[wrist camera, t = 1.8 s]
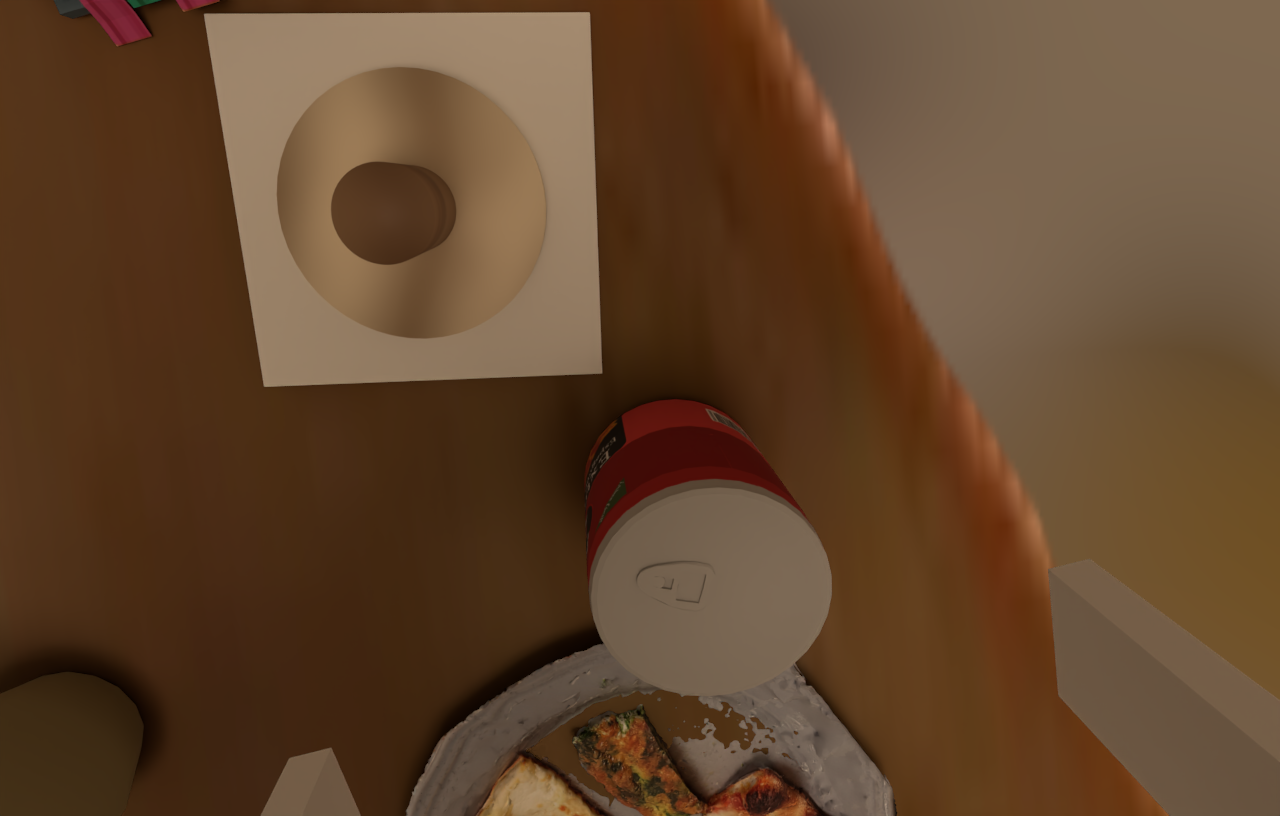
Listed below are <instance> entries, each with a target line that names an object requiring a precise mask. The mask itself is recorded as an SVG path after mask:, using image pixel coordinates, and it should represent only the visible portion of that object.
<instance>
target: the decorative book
mask: <svg viewBox="0 0 1280 816" xmlns="http://www.w3.org/2000/svg"><path fill="white" fill-rule="evenodd" d="M157 1H160V0H54V2H55V4H56V6H57V8H58V11H59V13H60V15H63V16H66V17H69V18H72V19H74V18H77V17H80V16H84V15H87V14H90V13H91V14H92V15H93V16H94V18H95V19H96V20H97V21H98V22H99V23H100V24H101V25H102V27H103V28H104V29H105V31H106V32H107V33H108V35H109V36H110V38H111V39H112V40H113V42H114V43H115V44H116V46H121V45H124V44H128V43H131V42H134V41H138V40H141V39H145V38H148V37H151V36H152V35H151V34H150V33H149V31H148V30H147V28H146V27H145V25H144V24H143V23H142V21H141V20H140V18H139V17H138V15H137V14H136V13H135V11H134V10H133V9H132V8H131V7H130V6H129V4H128V3H127V2H129V3H130V4H131V5H132V6H133V7H134V8H136V7H140V6H143V5H147V4H150V3H153V2H157ZM176 1H177V3H178V4H179V6H180V7H181V9H182V10H183V12H185V11H188V10H192V9H195V8H199V7H202V6H205V5H209V4H212V3H216V2H219V1H220V0H176Z"/></svg>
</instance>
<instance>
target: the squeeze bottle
mask: <svg viewBox="0 0 1280 816" xmlns="http://www.w3.org/2000/svg"><path fill="white" fill-rule="evenodd" d="M143 730H144V724H143V722H142V719H141V717H140V714H139V712H138V709H137V707H136V705H135V704H134V703H133V702H132V701H131V700H130V699H129V698H128V696H127V695H126V694H125V693H124V692H123V691H122V690H121V689H120V688H119V687H117V686H115V685H113V684H111V683H109V682H107V681H105V680H103V679H100V678H98V677H96V676H94V675H87V674H81V673H74V672H62V673H56V674H50V675H45V676H41V677H38V678H36V679H34V680H31V681H29V682H27V683H24V684H22V685H20V686H17V687H15V688H13V689H10V690H8V691H5V692H3V693H1V694H0V816H121V815H122V813H123V812H124V810H125V809H126V806H127V802H128V798H129V794H130V790H131V786H132V782H133V778H134V775H135V771H136V767H137V763H138V759H139V755H140V751H141V747H142V740H143Z"/></svg>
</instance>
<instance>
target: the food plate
mask: <svg viewBox="0 0 1280 816" xmlns="http://www.w3.org/2000/svg"><path fill="white" fill-rule="evenodd" d="M587 648H588V647H587ZM551 663H552V664H551ZM550 664H551V665H550ZM794 666H795V667H796V668H797V670H798V671H799V672H800V670H799V669H798V667H797V665H796V664H795V663H794V664H793V665H792V666H791V667H789V668H788V669H786V670H785V671H784V672H782V673H781V674H779V675H778V676H776V677H775V678H773V679H771V680H769V681H767V682H764V683H762V684H760V685H758V686H756V687H754V688H750V689H747V690H743V691H740V692H736V693H732V694H725V695H716V696H700V697H699V701H701V702H702V703H703V704H706V703H707V704H708V706H709V707H710V708H714V709H716V710H719V711H721V710H722V709H723V706H722V704H721V703H720V702H727V703H729V705H730V706H732V707H733V710H734V711H735V712H737V713H739V714H742V715H744V716H745V720H746V723H751V724H752V726H753V729H752V730H753V731H754V732H755V734H756V736H755V737H754V739H753V741H752V742H751V744H752V745H751V746H750V748H748V749H747V750H742V749H741V748H740V743H739V741H733V742H731V743H730V746H729V748H727V749H724V745H723V743H721V742H719V741H718V740H716V739H715V738H714V737H713V735H712V734H713V733H714V731H715V730H716V728H715V727H714V725H713V723H710V722H709V719H707V718H706V719H704V723H706V726H705V728H703V729H702V731H701V732H702V733H703V734H705V735H706V738H705V739H704V740H698V739H694V740H692V739H691V738H688V740H689V741H688V742H684V741H683V740H681V738H680V737H673V743H672V745H671V746H670V748H669V749H667V744H666V743H665V742H664V741H663V740H662V737H660V736H659V735H658V734H657V732H656V730H655V728H654V727H653V725H652V724H651V723H650V721H649V720H648V717H647V716H646V715H645V710H644V707H643V706H642V704H640V705H638V706H637V709H636V710H632V711H631V710H628V711H627V712H624V713H621V714H616V713H613V712H612V711H607V712H605V713H604V714H602V715H598V716H597V717H595V718H592V719H590V720H589V722H588V723H589V725H588V727H585V726H584V727H583V728H581V729H580V730H578V732H577V736H576V737H574V738H573V739H572V742H573V744H574V745H575V747H576V749H577V751H578V754H579V761H580V762H581V766H582V767H583V768H585V770H586V771H587V774H588V775H593V776H594V777H595V779H596V781H597V782H600V783H602V784H604V785H605V786H604V788H606V790H607V792H609V793H611V794H612V796H614V797H615V798H614V801H613V802H612V804H611V806H610V807H609V806H608V805H609V799H608V797H603V796H599V794H598V793H596V792H595V791H593V790H591V789H588V788H587V787H586V786H584V784H583V783H578V782H579V781H578V780H577V779H576V777H575V776H574V775H573V774H569V775H565V772H564V771H563V770H561V769H560V768H558V767H556V766H555V765H553V764H551V763H550V762H548V761H547V760H548V758H547V757H544V758H543V759H542V760H541V761H540V760H539V759H536V758H535V757H534V755H533V754H531V753H526V750H527V749H528V748H531V747H532V746H534V745H535V744H537V743H538V742H539V740H540V739H542V738H544V737H545V736H547V735H548V734H550V733H551V732H552V731H554V730H556V729H557V728H558V727H559V726H560V725H563V724H565V723H566V722H567V721H568V720H569V719H571V718H573V717H574V716H576V715H578V714H580V713H582V712H583V710H584V709H585V708H587V707H589V706H590V705H592V704H594V703H597V702H601V701H606V700H608V699H610V698H613V697H615V696H619V695H620V694H621V695H622V697H624V696H629V695H630V694H632V693H633V692H636V691H640V692H641V693H643V694H644V695H645V694H647V693H649V694H652V693H653V692H655V691H656V690H660V688H658V687H656V686H653V685H651V684H649V683H646V682H644V681H642V680H641V679H639V678H638V677H636V676H635V675H633V674H632V673H630V672H629V671H627V670H626V669H625V668H624V667H623V666H622V665H621V664H620V663H619V662H618V661H617V660H616V659H615V658H614V657H613V656H612V655H611V653H610V652H609V650H608V649H607V647H606V646H605V644H604V643H603V645H601V644H599V645H595V646H593V647H592V648H590V649H588V650H585V651H581V652H575V653H574V654H572V655H570V656H568V657H565V658H563V659H562V660H561V659H558V660H557V661H555V662H550V663H548V664H547V665H545V666H544V667H542V668H539V669H537V671H536V670H535V672H533V673H531V675H528V676H527V677H525V678H524V679H522V680H521V681H518V682H517V683H515V684H514V685H511V686H509V687H507V691H506V692H504V691H503V692H502V694H500V695H497V696H496V697H495V698H493V699H492V700H491V699H490V702H488V701H489V700H488V701H487V702H486V704H485V705H482V706H481V707H480V708H479V710H476V711H474V712H473V713H472V714H470V715H469V716H467V718H466V720H464V723H463V721H462V722H460V723H459V724H457V726H456V727H455V728H454V729H453V728H452V729H451V730H450V731H449V732H448V733H446V735H444V736H443V737H442V738H441V739H440V741H439V742H438V744H437V745H436V747H435V748H434V751H433V754H432V755H431V758H430V759H429V760H428V764H427V765H426V766H425V767H426V768H425V773H424V774H422V776H421V777H420V778H419V779H418V784H417V786H414V787H415V788H414V792H411V793H412V797H411V802H409V803H410V806H408V808H407V810H406V813H407V814H406V816H897V812H896V807H895V806H896V804H895V803H894V802H895V800H894V795H893V792H892V787H891V786H890V783H889V781H888V780H887V779H886V780H887V781H886V780H885V778H886V776H885V778H884V777H883V775H882V774H881V772H880V771H879V769H878V768H877V767H876V765H875V764H874V762H872V761H871V760H870V758H869V757H868V756H867V755H866V753H865V752H864V751H863V750H862V748H861V747H860V745H859V744H858V743H857V741H856V740H855V739H854V738H853V737H852V736H851V734H850V733H849V731H848V730H847V728H846V727H845V726H844V725H843V724H842V723H841V722H840V720H839V719H838V718H837V717H836V716H835V715H834V714H833V712H832V711H831V709H830V708H829V706H828V705H827V704H826V702H825V701H824V700H823V698H822V697H821V696H820V695H819V694H818V693H817V692H816V691H815V689H814V688H813V687H812V686H806V681H805V680H806V678H805V677H804V676H801V675H799V672H798V671H797V670H796V669H795V668H794ZM800 673H801V672H800ZM801 674H802V673H801ZM802 675H803V674H802ZM505 689H506V688H505ZM662 690H663V689H662ZM680 695H681V697H683V696H685V695H684V694H680ZM657 700H658V701H660V700H661V698H658V699H657ZM675 708H677V707H675ZM730 711H731V708H730V709H729V710H728V714H729V712H730ZM728 714H726V715H725V717H729V715H728ZM751 717H757V718H759V720H760V722H762V724H764V725H765V729H763V730H762V729H757V726H756V722H752V721H751V720H750V718H751ZM745 720H742V721H741V723H740V724H739V726H740V727H741V728H744V729H748V727H747V726H746V723H745V722H744V721H745ZM684 722H685V721H684ZM672 726H673V725H672ZM694 727H696V726H694ZM698 727H699V726H698ZM767 727H769V728H771V729H773V733H770V730H769V729H768V730H766V728H767ZM678 729H679V728H678ZM708 729H712V731H711V732H710V733H708V734H706V733H707V730H708ZM670 730H671V729H670V728H668V731H670ZM673 731H674V730H673ZM794 731H797V732H798V733H799V734H798V735H795V734H794ZM761 733H762V734H761ZM767 734H769V736H770V737H774V738H775V740H776V741H775V743H772V741H771V740H770V739H769V738H765V735H767ZM745 735H747V732H746V733H745ZM744 740H747V741H748V739H746V738H745V739H744ZM760 740H761V741H762V742H761V743H758V742H759V741H760ZM679 743H681V744H679ZM766 747H767V748H768V752H769V753H768V754H767V755H765V754H764V753H763V752H762V751H760V752H756V753H752V751H753V749H754V748H758V749H761V748H766ZM732 750H735V751H736V752H735V753H733V754H732V753H730V752H731V751H732ZM703 752H705V753H703ZM782 753H787V754H788V755H789V756H790V758H792V759H789V758H788V757H784V756H782ZM783 757H784V758H783ZM543 763H544V764H543ZM681 768H684V769H681ZM694 774H695V775H694ZM884 775H885V774H884ZM888 783H889V784H888ZM576 786H577V787H576Z"/></svg>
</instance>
